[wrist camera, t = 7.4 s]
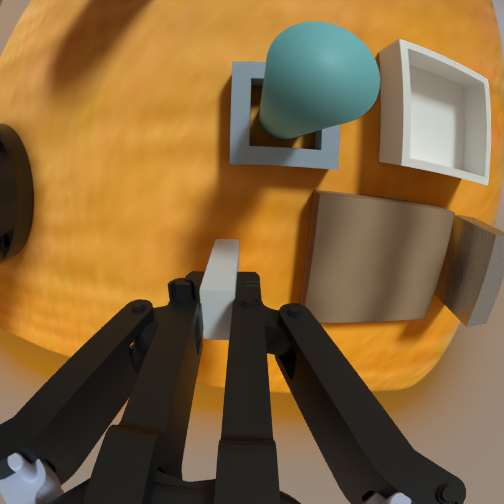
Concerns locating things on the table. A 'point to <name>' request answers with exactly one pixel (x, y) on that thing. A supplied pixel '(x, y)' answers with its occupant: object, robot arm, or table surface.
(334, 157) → the socket block
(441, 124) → the tray
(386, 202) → the tan brushed block
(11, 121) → the table surface
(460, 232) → the block
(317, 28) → the dowel
